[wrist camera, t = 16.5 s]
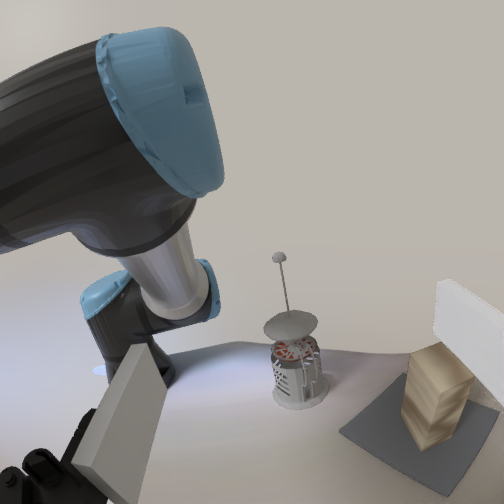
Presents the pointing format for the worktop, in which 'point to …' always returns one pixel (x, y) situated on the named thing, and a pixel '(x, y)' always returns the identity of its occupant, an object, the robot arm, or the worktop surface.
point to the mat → (405, 448)
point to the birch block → (434, 394)
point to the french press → (295, 356)
